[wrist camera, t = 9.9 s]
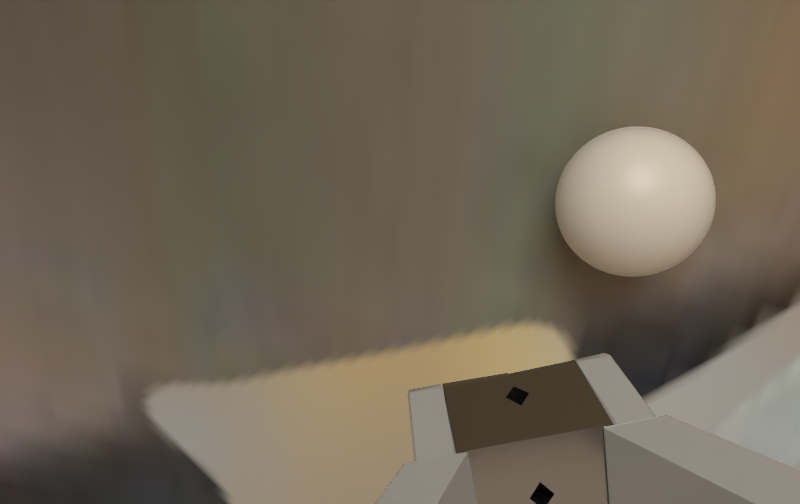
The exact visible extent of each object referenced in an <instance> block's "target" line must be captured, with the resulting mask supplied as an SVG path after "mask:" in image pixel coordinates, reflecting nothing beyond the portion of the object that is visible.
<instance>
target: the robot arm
mask: <svg viewBox="0 0 800 504" xmlns="http://www.w3.org/2000/svg"><path fill="white" fill-rule="evenodd" d="M443 390H444V392H443ZM444 396H445V397H444ZM408 401H409V412H410V422H411V431H412V442H413V452H414V462H409V463H405V464H404V465H403V466H402V468H401V469H400V470H399V472H398V473H397V474H396V476H395V477H394V478H393V480H392V481H391V482H390V484H389V485H388V487H387V488H386V489H385V491H384V492H383V493H382V495H381V496H380V498H379V499H378V500H377V501H376V503H375V504H800V471H799V470H797V469H794V468H792V467H790V466H787V465H785V464H782V463H780V462H778V461H775V460H773V459H770V458H768V457H766V456H763V455H761V454H758V453H756V452H754V451H751V450H749V449H746V448H744V447H742V446H739V445H737V444H734V443H732V442H730V441H727V440H725V439H722V438H720V437H718V436H715V435H713V434H710V433H708V432H706V431H703V430H701V429H698V428H696V427H694V426H691V425H689V424H686V423H684V422H682V421H679V420H677V419H674V418H672V417H670V416H667V415H666V416H660V417H656V416H655V415H654V413H653V412H652V411H651V409H650V408H649V407H648V405H647V404H646V403H645V401H644V400H643V399H642V397H641V396H640V395H639V393H638V392H637V391H636V389H635V388H634V386H633V385H632V384H631V382H630V381H629V380H628V378H627V377H626V376H625V374H624V373H623V372H622V370H621V369H620V368H619V366H618V365H617V364H616V362H615V361H614V360H613V358H612V357H611V356H610V355H608V354H606V353H602V354H598V355H593V356H589V357H584V358H580V359H576V360H572V361H568V362H564V363H559V364H554V365H550V366H545V367H540V368H535V369H530V370H525V371H520V372H515V373H511V374H508V373H506V374H499V375H493V376H488V377H481V378H475V379H469V380H463V381H457V382H451V383H445V384H443V388H442V386H441V385H440V384H438V385H433V386H428V387H423V388H417V389H412V390H409V393H408ZM445 401H446V402H445Z"/></svg>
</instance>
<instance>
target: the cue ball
mask: <svg viewBox="0 0 800 504" xmlns="http://www.w3.org/2000/svg"><path fill="white" fill-rule="evenodd" d="M715 205H716V195H715V186H714V182H713V179H712V175H711V172H710V171H709V169H708V167H707V165H706V163H705V161H704V160H703V158H702V157H701V156H700V155H699V153H698V152H697V151H696V150H695V149H694V148H693V147H692V146H691V145H689V144H688V143H687V142H686V141H684V140H683V139H681V138H680V137H678V136H676V135H674V134H671V133H669V132H667V131H664V130H661V129H657V128H651V127H641V126H632V127H623V128H618V129H614V130H611V131H608V132H606V133H603V134H601V135H599V136H597V137H595V138H594V139H592V140H590V141H589V142H587V143H586V144H585V145H584V146H582V147H581V148H580V149H579V150H578V151H577V152H576V153H575V154H574V155H573V156H572V158H571V159H570V160H569V162H568V163H567V164H566V166H565V168H564V169H563V171H562V174H561V176H560V179H559V181H558V184H557V189H556V194H555V214H556V219H557V223H558V226H559V229H560V231H561V234H562V236H563V238H564V239H565V241H566V243H567V244H568V245H569V247H570V248H571V249H572V250H573V252H574V253H575V254H576V255H577V256H579V257H580V258H581V259H582V260H583V261H585V262H586V263H588V264H589V265H591V266H592V267H594V268H596V269H598V270H601V271H604V272H606V273H609V274H613V275H618V276H627V277H640V276H648V275H653V274H657V273H660V272H663V271H665V270H667V269H670V268H672V267H674V266H676V265H677V264H679V263H681V262H682V261H683V260H685V259H686V258H687V257H688V256H690V255H691V254H692V253H693V252H694V251H695V250H696V249H697V248H698V246H699V245H700V244H701V242H702V241H703V239H704V238H705V236H706V235H707V233H708V231H709V229H710V226H711V223H712V220H713V217H714V212H715Z"/></svg>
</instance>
